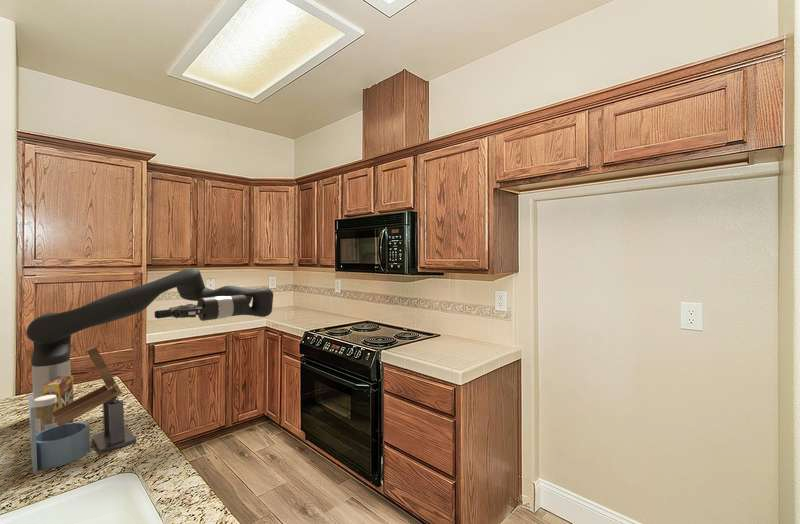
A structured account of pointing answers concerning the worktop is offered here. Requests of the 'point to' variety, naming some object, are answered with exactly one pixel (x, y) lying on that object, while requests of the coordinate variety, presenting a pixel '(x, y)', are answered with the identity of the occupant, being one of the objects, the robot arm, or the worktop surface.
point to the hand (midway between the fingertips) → (155, 314)
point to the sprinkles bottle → (45, 412)
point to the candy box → (60, 390)
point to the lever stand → (113, 428)
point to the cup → (57, 442)
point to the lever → (92, 398)
